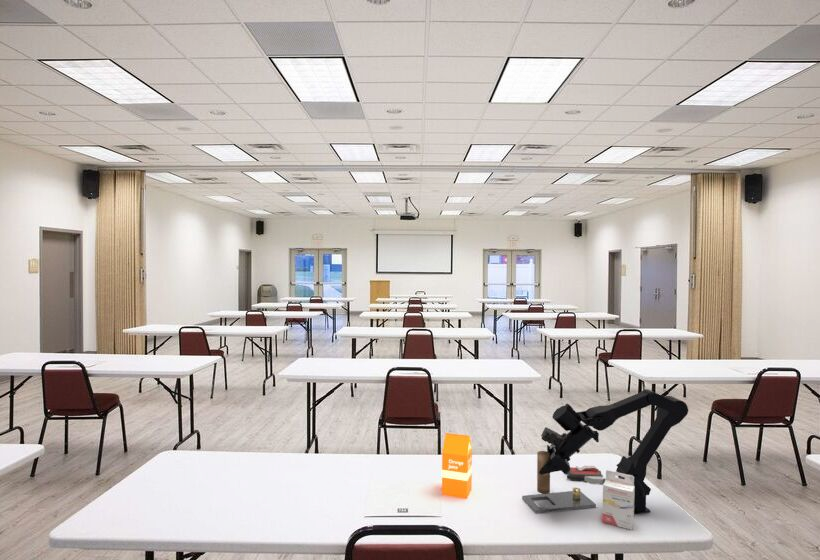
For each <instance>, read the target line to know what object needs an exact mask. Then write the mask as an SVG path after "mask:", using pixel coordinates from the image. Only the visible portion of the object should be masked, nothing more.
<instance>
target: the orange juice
mask: <svg viewBox="0 0 820 560" xmlns="http://www.w3.org/2000/svg"><path fill="white" fill-rule="evenodd" d="M441 460H442V461H441V495H442V496H447V497H449V496H450V497H453V498H454V497H455V498H461V499H468V497H469V495H470V493H471V491H472V484H473V483H472V477H473V475H472V473H473V472H472V471H473V465H472V464H473V461H472V460H473V447H472V442H471V436H470V435H468V434H467V435H466V434H458V433H448V432H445V434H444V440H443V448H442V451H441Z"/></svg>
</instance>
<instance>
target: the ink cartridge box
mask: <svg viewBox="0 0 820 560" xmlns="http://www.w3.org/2000/svg"><path fill="white" fill-rule="evenodd" d="M618 476H621V477H624V478H625V479H620V478H618ZM605 479H606V480H605V482H604V483H603V484H602V485H603V486H602V507H601V508H602V510H601V511H602V514H601V519H602V520H601V522H602V523H605V524H608V525H611V526H615V527H618V526H619V528H622V527H623V529H626V528H627V529H626V530H629V529H630V531H632V530H633V527H634V523H635V514H634V493H635V486H634V476H632V475H627V474H623V473H618V472H616V471H613V470H606V472H605Z"/></svg>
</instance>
